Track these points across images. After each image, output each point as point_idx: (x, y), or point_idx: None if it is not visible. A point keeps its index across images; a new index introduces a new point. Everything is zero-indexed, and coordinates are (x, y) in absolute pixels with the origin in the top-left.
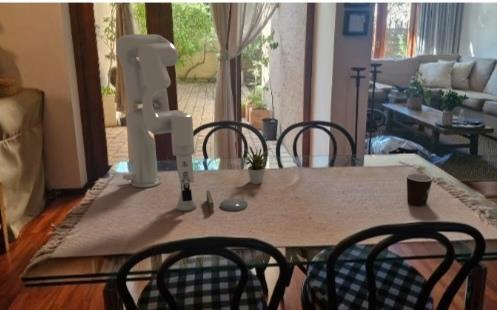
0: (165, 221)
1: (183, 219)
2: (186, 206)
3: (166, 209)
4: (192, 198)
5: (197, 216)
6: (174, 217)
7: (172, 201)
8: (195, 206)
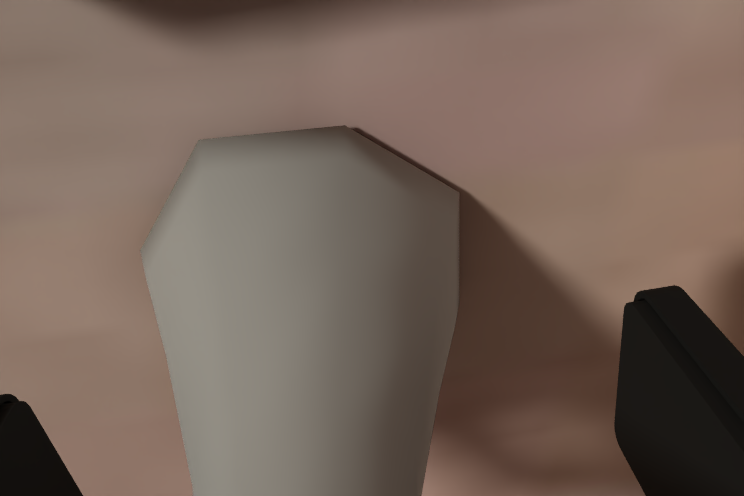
0: None
1: (722, 254)
2: (452, 292)
3: None
4: (308, 262)
5: (689, 63)
6: None
7: (85, 467)
8: (345, 140)
